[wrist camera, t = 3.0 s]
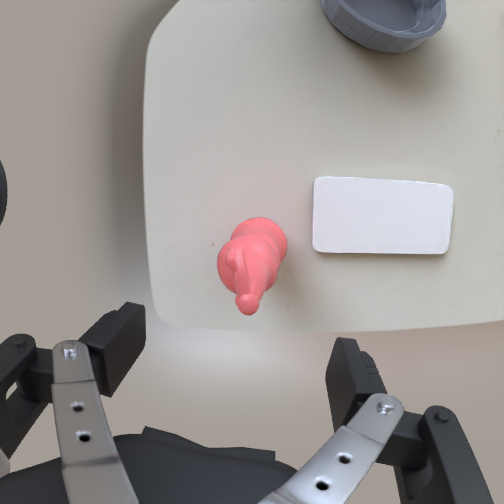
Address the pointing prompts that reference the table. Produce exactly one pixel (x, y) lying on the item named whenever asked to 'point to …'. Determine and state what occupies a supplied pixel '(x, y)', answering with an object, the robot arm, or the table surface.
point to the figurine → (252, 261)
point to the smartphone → (380, 216)
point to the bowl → (386, 21)
